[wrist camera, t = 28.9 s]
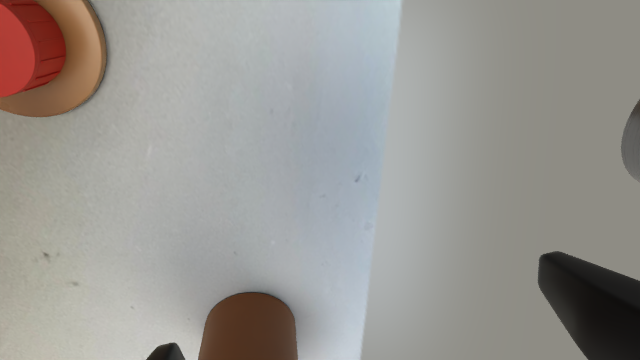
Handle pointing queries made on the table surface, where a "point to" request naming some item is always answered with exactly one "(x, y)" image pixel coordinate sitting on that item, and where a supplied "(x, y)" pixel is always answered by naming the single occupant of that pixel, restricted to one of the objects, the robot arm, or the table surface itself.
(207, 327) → the bottle
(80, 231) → the table surface
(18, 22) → the cap
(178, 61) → the table surface
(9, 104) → the coaster
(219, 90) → the table surface
